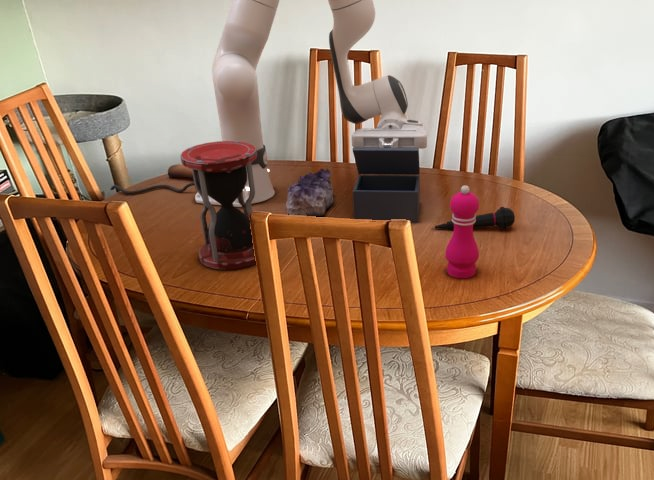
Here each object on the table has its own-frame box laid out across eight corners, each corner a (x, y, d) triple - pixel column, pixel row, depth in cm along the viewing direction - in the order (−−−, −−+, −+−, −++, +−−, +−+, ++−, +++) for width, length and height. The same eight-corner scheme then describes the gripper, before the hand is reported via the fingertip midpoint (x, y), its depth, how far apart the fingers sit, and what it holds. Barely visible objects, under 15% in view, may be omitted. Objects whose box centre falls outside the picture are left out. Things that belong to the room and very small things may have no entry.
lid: (418, 150, 154) (418, 147, 154) (352, 150, 155) (352, 147, 155) (419, 174, 167) (419, 172, 167) (358, 174, 168) (358, 171, 168)
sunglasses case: (231, 174, 194) (222, 160, 188) (222, 191, 191) (212, 177, 185) (184, 168, 200) (174, 154, 194) (174, 185, 197) (164, 171, 191)
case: (417, 222, 160) (417, 192, 156) (354, 221, 162) (352, 191, 158) (419, 203, 171) (419, 175, 167) (360, 203, 173) (358, 174, 168)
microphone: (436, 242, 156) (516, 232, 155) (435, 226, 152) (516, 215, 150) (434, 228, 160) (512, 218, 158) (433, 211, 156) (512, 200, 154)
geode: (302, 192, 180) (304, 159, 176) (340, 200, 179) (343, 166, 174) (278, 217, 163) (280, 181, 158) (320, 225, 162) (323, 189, 157)
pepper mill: (442, 265, 139) (444, 180, 129) (473, 263, 140) (479, 178, 130) (447, 280, 133) (451, 192, 123) (480, 278, 133) (486, 191, 123)
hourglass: (185, 264, 142) (164, 158, 130) (224, 236, 155) (208, 137, 143) (246, 275, 137) (230, 166, 125) (281, 244, 150) (270, 143, 138)
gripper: (354, 121, 172) (347, 135, 160) (427, 121, 170) (426, 135, 158) (355, 143, 175) (348, 158, 163) (427, 144, 173) (426, 159, 161)
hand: (387, 147), depth 160 cm, fingers closed
